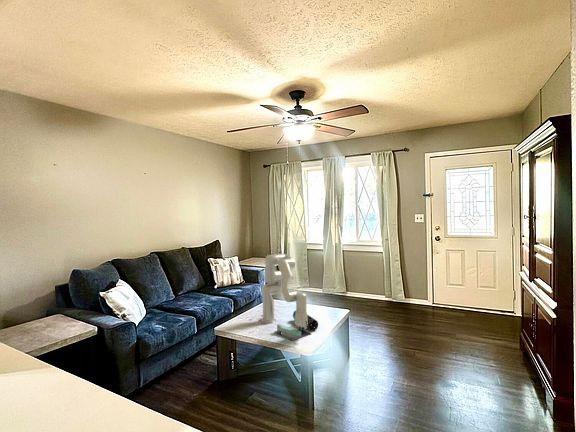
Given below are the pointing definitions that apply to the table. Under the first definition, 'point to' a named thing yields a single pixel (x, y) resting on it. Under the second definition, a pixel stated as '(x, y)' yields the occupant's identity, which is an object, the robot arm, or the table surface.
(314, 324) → the muzzle brake
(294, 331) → the swing arm
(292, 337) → the dark grey mat
